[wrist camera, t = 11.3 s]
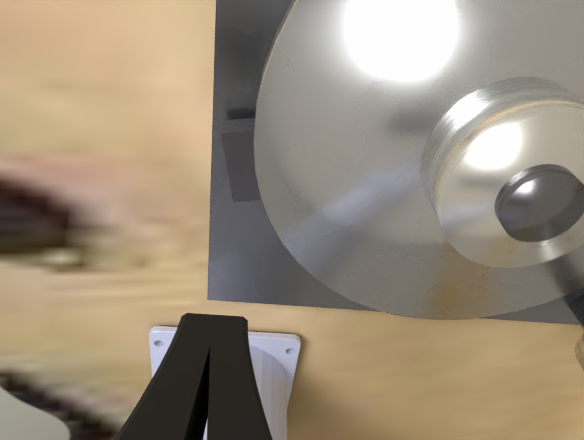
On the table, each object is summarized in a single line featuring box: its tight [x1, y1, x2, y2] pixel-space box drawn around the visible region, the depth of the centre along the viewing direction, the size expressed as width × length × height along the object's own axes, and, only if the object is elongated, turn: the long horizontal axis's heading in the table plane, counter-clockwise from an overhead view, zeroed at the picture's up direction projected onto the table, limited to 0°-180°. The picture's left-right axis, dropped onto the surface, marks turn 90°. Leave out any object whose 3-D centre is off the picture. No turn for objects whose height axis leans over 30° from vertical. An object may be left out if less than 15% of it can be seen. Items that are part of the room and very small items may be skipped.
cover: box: [420, 77, 584, 268], centre depth 15 cm, size 6×6×3 cm
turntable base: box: [207, 0, 584, 369], centre depth 15 cm, size 20×20×7 cm
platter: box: [221, 0, 584, 320], centre depth 15 cm, size 18×17×5 cm
